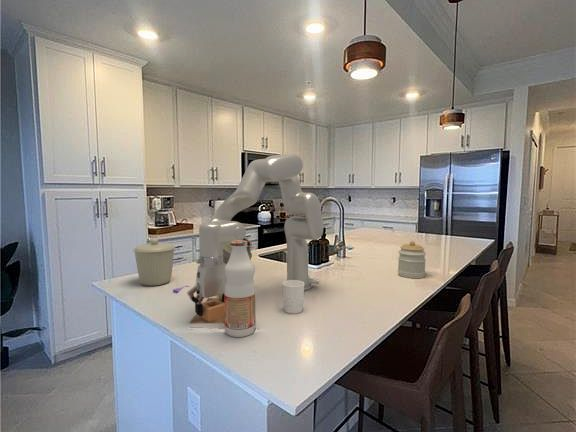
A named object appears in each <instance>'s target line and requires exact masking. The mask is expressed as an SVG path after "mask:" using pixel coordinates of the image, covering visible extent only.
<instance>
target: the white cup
mask: <svg viewBox="0 0 576 432" xmlns="http://www.w3.org/2000/svg"><path fill="white" fill-rule="evenodd" d="M304 299H305V291H304V282H302V281H298V280H288V281H287V280H284V281H283V282H282V300H283V311H284V312H285V313H288V314H300V313H302V312H303V309H304Z"/></svg>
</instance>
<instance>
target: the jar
mask: <svg viewBox="0 0 576 432" xmlns="http://www.w3.org/2000/svg"><path fill="white" fill-rule="evenodd" d="M424 250H425V247H423V246H422V245H420V244H416V242H415V241H414V240H410V241H409V243H407V244H406V243H405V244H402V245H401V246H400V249H399V250H398V254H399V256H398V258H397V259H398V261H397V262H398V264H397V265H398V267H397V275H399V276H400V277H402V278H407V279H423V278H425V275H426V257H425V256H426V255H427V253H426V252H425V251H424Z"/></svg>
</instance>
